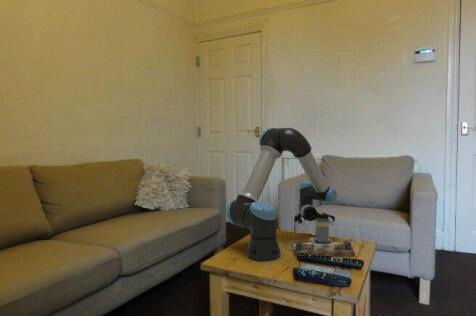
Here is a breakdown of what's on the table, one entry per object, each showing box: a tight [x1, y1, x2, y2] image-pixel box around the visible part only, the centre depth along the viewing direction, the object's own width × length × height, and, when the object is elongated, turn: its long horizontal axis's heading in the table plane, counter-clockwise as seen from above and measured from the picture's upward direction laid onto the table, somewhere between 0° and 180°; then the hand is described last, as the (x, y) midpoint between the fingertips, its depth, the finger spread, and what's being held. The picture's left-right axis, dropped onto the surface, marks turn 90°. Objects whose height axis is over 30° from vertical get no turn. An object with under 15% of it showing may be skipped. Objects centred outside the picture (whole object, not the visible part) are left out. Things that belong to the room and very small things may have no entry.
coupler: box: [314, 218, 330, 244], centre depth 155 cm, size 5×5×13 cm
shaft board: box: [291, 237, 356, 258], centre depth 155 cm, size 27×12×5 cm, turn 89°
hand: (318, 223), depth 163 cm, fingers open, 13 cm apart
